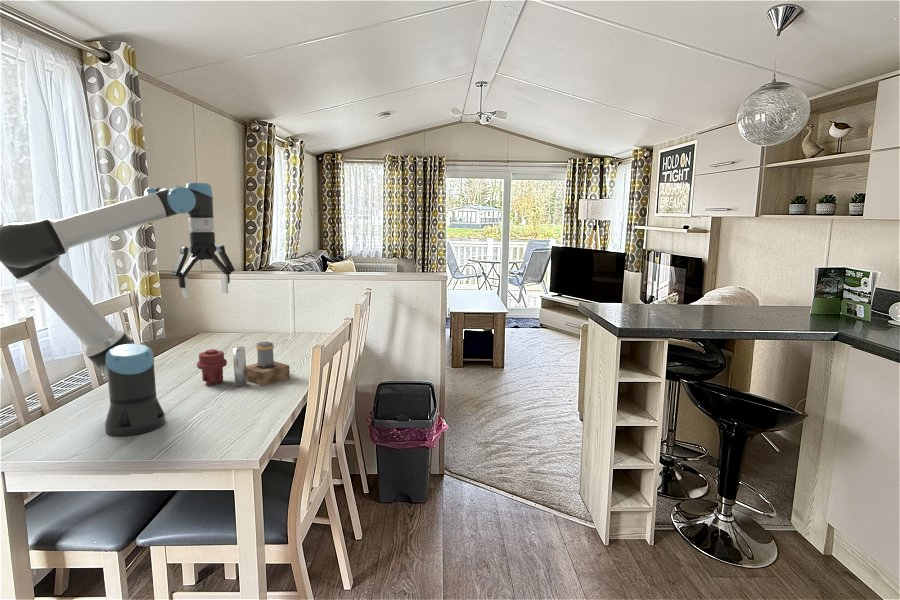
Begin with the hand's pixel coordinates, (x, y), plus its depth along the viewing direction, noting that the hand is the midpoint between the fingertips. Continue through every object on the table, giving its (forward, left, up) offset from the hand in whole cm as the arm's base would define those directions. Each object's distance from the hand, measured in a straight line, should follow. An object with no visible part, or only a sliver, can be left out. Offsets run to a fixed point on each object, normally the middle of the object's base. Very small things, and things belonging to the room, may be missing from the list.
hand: (206, 295), depth 177 cm
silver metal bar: (+12, +2, -35) cm, 37 cm away
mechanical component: (+7, +12, -35) cm, 38 cm away
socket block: (+22, +1, -35) cm, 41 cm away
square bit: (+22, +1, -35) cm, 41 cm away
